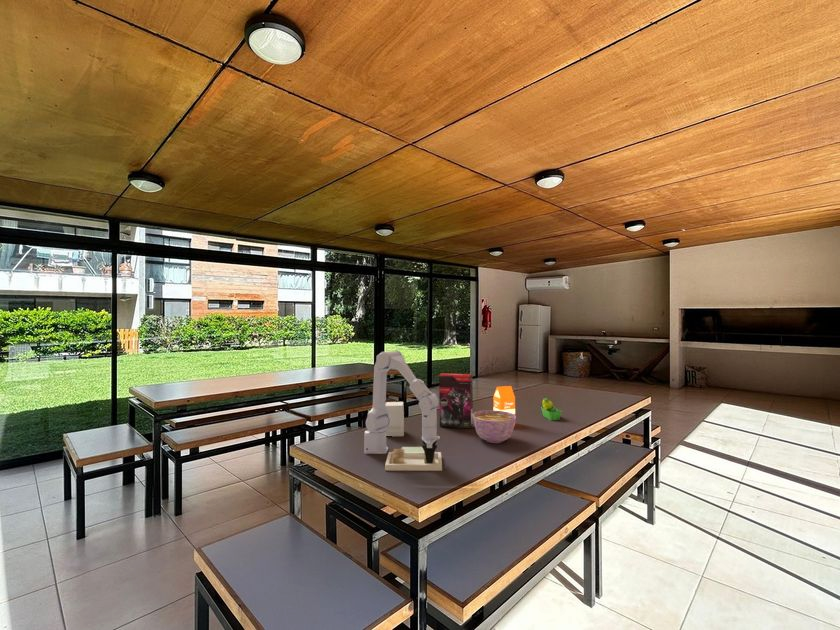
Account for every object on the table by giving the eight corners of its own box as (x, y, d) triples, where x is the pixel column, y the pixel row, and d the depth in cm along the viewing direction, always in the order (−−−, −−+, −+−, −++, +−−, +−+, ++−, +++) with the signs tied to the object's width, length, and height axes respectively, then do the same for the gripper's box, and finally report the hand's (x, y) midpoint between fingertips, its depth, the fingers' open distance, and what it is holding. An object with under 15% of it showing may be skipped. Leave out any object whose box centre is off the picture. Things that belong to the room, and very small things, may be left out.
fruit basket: (562, 420, 218) (562, 399, 218) (547, 421, 216) (547, 400, 216) (552, 415, 229) (552, 395, 229) (538, 415, 228) (538, 396, 228)
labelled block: (424, 465, 152) (424, 451, 152) (424, 461, 156) (424, 448, 156) (434, 465, 152) (434, 451, 152) (434, 461, 156) (434, 448, 156)
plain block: (393, 465, 152) (393, 452, 152) (394, 461, 156) (394, 448, 156) (403, 465, 152) (403, 452, 152) (404, 461, 156) (404, 448, 156)
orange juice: (493, 422, 214) (493, 385, 214) (507, 421, 216) (507, 384, 216) (500, 426, 206) (500, 388, 206) (515, 425, 209) (515, 387, 209)
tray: (385, 471, 147) (385, 464, 147) (388, 458, 161) (388, 452, 161) (442, 471, 147) (442, 465, 147) (440, 458, 161) (440, 452, 161)
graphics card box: (438, 427, 206) (438, 374, 206) (441, 423, 213) (441, 372, 213) (471, 429, 201) (471, 375, 201) (473, 425, 208) (473, 373, 208)
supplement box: (404, 431, 199) (403, 401, 199) (403, 436, 190) (403, 405, 190) (385, 431, 199) (385, 401, 199) (384, 436, 190) (384, 405, 190)
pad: (400, 456, 163) (400, 454, 163) (402, 448, 173) (402, 446, 173) (429, 456, 163) (429, 455, 163) (429, 448, 173) (429, 446, 173)
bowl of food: (464, 436, 189) (464, 412, 189) (501, 432, 196) (500, 408, 196) (486, 450, 171) (486, 423, 171) (525, 444, 178) (525, 418, 178)
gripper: (440, 431, 147) (440, 467, 147) (439, 420, 161) (439, 454, 161) (421, 431, 147) (421, 467, 147) (421, 420, 161) (422, 454, 161)
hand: (429, 460), depth 154 cm, fingers closed on labelled block, 4 cm apart
